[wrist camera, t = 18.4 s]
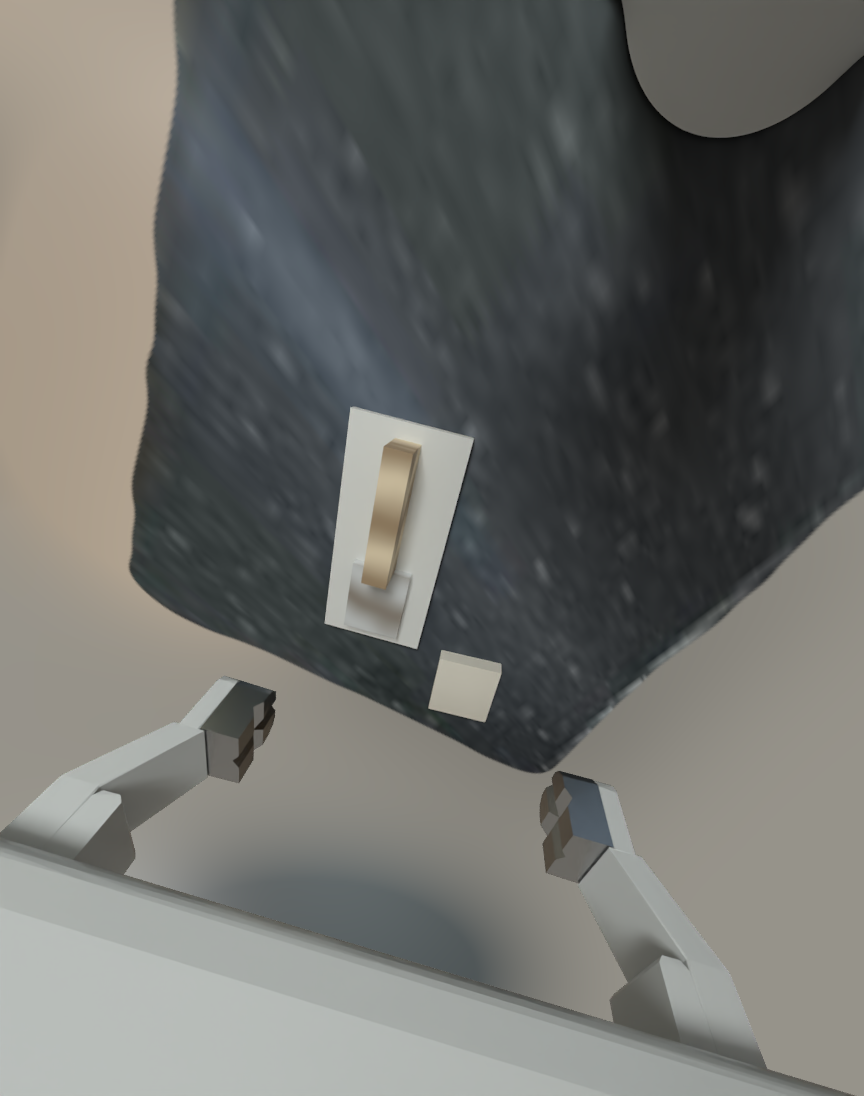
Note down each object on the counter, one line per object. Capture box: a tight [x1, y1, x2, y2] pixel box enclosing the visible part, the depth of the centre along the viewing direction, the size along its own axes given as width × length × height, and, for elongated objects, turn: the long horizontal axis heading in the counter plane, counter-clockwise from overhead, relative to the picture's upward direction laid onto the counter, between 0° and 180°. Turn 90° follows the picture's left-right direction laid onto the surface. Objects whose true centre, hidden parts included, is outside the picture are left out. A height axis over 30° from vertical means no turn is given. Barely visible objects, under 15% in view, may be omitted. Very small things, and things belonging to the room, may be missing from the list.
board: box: [325, 407, 474, 649], centre depth 38 cm, size 24×11×1 cm, turn 167°
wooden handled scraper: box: [344, 438, 421, 639], centre depth 36 cm, size 21×6×4 cm, turn 167°
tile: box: [428, 650, 502, 722], centre depth 45 cm, size 2×7×8 cm
